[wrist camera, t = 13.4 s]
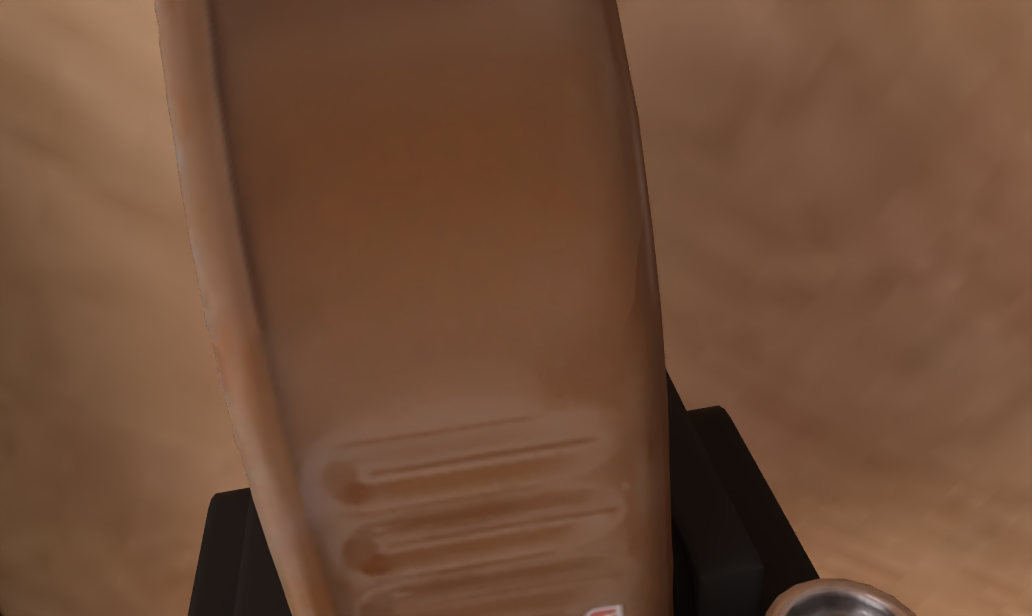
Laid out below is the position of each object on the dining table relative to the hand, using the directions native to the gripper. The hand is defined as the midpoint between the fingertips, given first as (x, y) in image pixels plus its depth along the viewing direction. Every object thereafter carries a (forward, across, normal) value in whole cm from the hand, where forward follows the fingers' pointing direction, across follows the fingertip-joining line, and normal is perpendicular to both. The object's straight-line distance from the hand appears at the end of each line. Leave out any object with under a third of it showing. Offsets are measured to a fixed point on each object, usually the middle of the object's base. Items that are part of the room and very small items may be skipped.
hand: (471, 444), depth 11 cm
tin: (+4, 0, 0) cm, 4 cm away
